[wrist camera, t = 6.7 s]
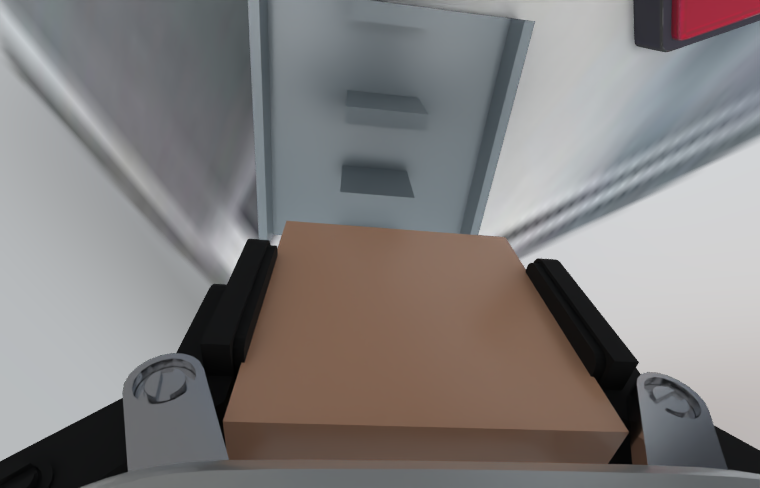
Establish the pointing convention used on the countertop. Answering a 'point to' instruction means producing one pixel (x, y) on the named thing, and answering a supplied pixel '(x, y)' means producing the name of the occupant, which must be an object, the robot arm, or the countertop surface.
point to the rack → (379, 112)
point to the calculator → (688, 21)
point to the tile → (411, 357)
